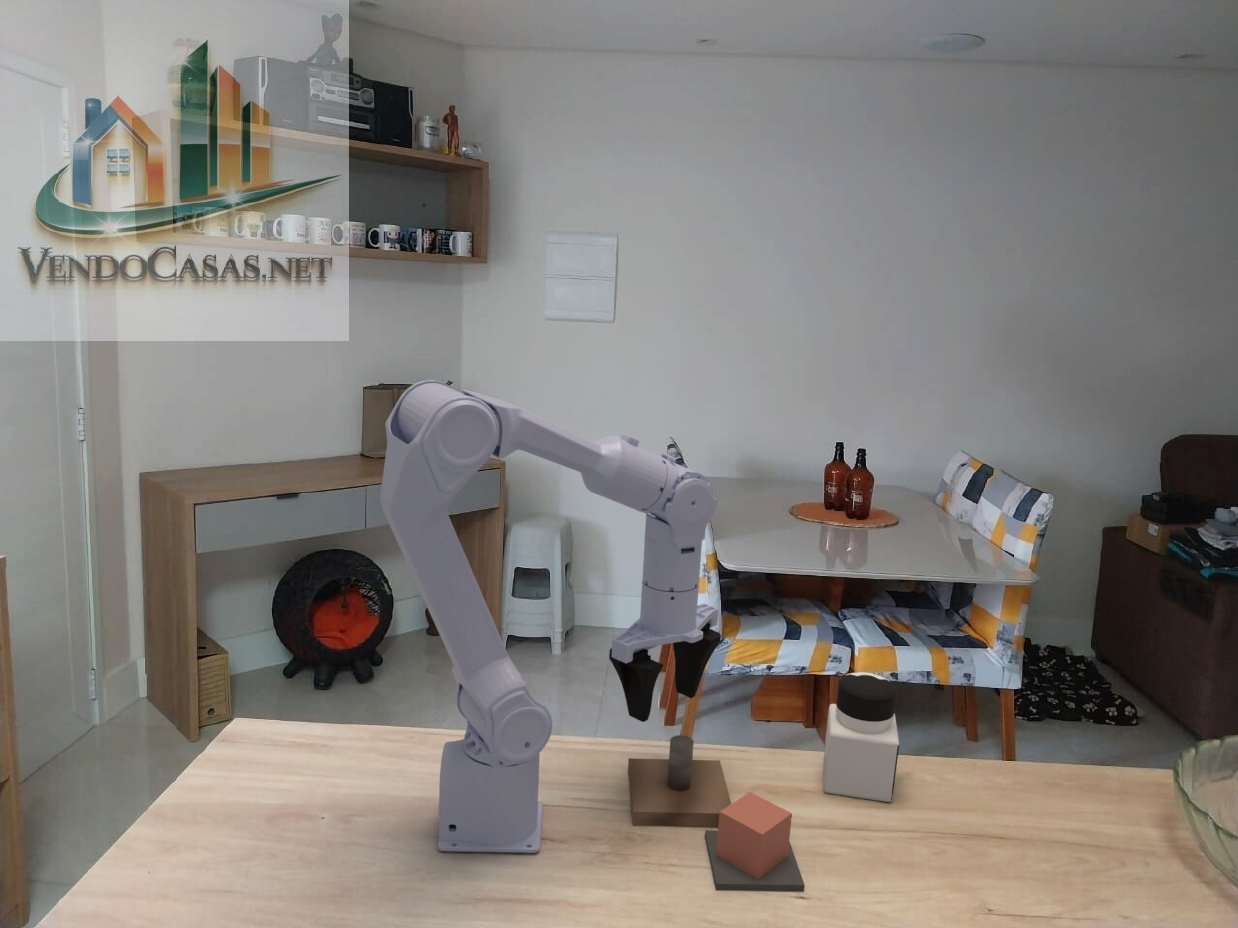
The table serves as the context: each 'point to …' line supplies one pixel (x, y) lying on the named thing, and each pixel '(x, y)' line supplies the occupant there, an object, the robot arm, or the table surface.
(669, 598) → the robot arm
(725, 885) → the mat
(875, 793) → the medicine bottle
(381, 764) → the table surface
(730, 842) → the terracotta cube
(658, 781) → the post block
